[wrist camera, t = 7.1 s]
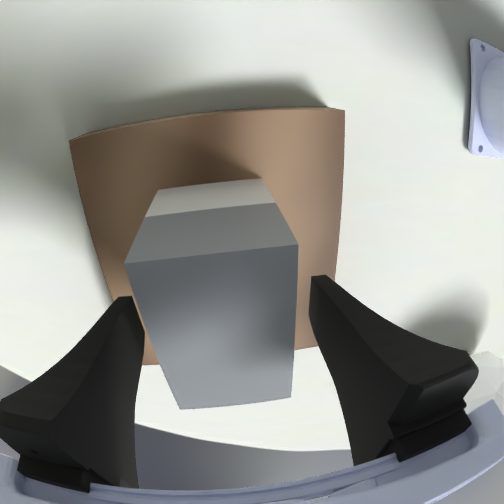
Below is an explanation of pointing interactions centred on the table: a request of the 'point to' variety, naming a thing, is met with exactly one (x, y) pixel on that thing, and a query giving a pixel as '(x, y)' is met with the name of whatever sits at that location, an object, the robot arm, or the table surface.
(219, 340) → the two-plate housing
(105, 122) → the table surface
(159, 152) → the walnut stand
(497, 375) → the geodesic sphere
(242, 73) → the table surface
